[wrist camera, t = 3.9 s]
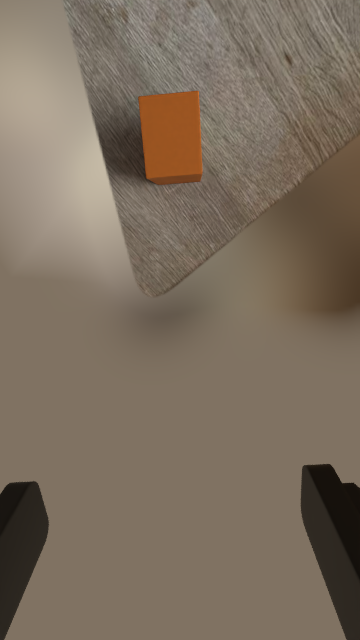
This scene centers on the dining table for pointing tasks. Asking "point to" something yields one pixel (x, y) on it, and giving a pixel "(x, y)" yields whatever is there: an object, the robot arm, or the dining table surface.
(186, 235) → the dining table surface
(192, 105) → the block
